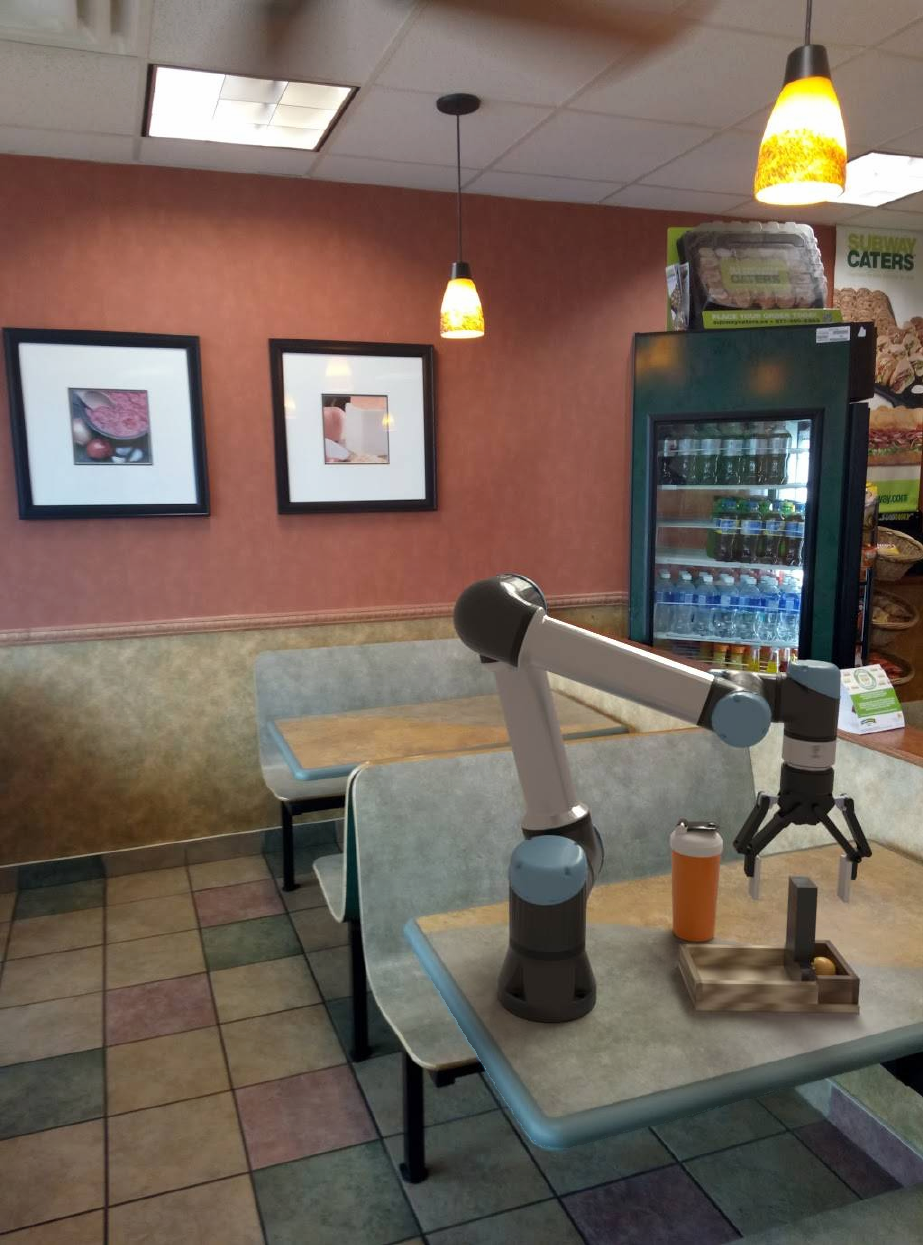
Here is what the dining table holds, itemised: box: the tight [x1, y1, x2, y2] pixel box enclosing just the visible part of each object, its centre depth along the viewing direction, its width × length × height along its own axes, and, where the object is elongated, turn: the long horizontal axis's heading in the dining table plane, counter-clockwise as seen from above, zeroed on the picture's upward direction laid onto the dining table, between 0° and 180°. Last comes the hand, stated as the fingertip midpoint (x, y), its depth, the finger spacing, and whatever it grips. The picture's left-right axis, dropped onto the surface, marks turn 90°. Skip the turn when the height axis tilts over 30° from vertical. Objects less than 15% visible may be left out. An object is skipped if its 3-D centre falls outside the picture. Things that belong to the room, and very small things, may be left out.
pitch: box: [677, 939, 861, 1014], centre depth 140 cm, size 24×13×5 cm, turn 88°
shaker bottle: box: [669, 817, 724, 943], centre depth 157 cm, size 9×9×20 cm
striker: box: [784, 876, 819, 981], centre depth 138 cm, size 3×8×16 cm, turn 178°
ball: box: [811, 957, 836, 981], centre depth 139 cm, size 4×4×4 cm
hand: (798, 897), depth 138 cm, fingers open, 13 cm apart
